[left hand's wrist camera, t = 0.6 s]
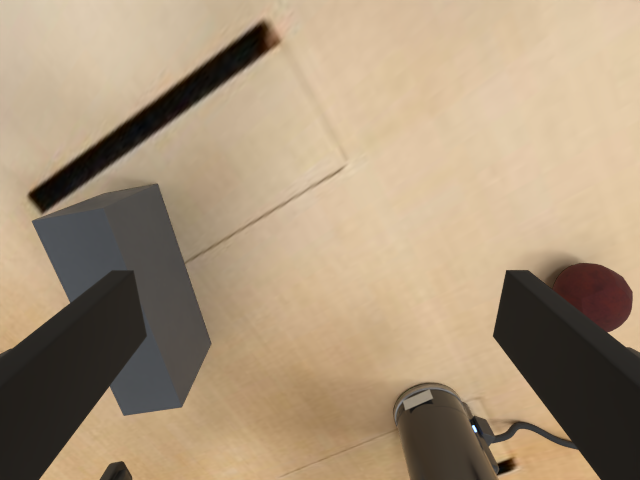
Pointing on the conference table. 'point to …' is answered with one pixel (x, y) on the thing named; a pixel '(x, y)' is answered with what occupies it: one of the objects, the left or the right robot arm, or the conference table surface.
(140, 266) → the box
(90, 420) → the conference table surface
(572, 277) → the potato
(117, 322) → the left robot arm
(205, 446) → the conference table surface
